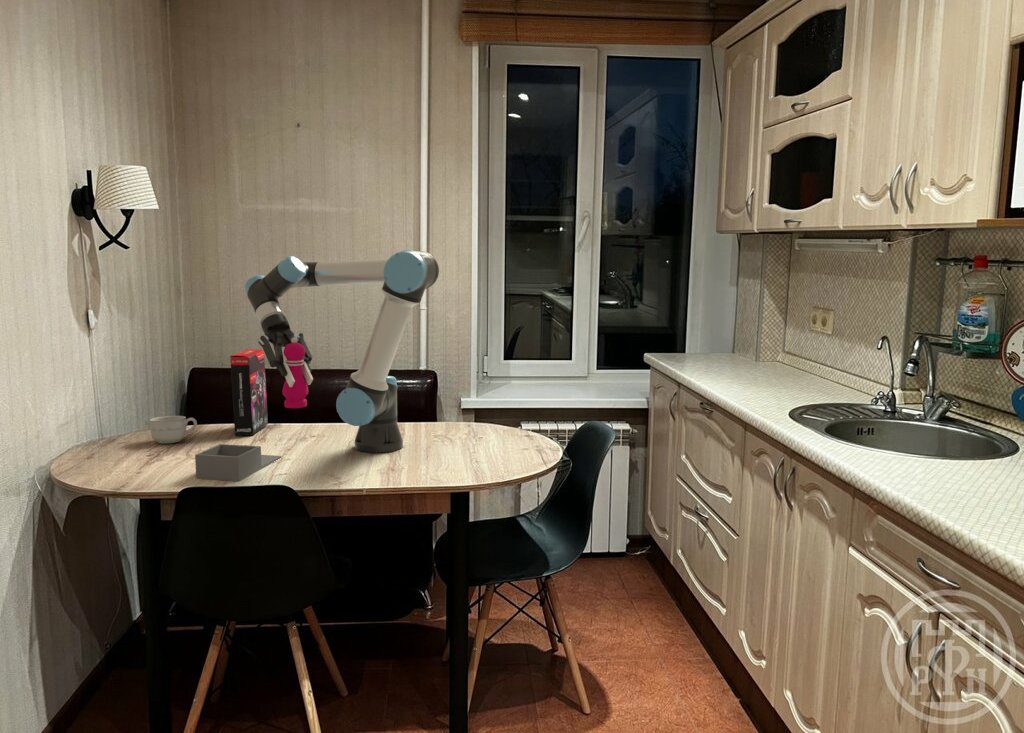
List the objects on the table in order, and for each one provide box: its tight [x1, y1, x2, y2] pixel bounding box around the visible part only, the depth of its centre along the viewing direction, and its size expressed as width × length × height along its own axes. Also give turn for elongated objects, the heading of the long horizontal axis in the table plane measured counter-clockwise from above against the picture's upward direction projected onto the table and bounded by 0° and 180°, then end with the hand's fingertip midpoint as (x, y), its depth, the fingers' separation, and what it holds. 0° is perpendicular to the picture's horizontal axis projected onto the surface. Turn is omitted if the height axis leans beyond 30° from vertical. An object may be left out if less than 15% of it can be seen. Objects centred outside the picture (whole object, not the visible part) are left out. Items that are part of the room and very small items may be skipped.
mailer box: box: [194, 443, 282, 482], centre depth 230 cm, size 13×25×7 cm, turn 170°
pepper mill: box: [282, 337, 309, 409], centre depth 232 cm, size 7×7×20 cm
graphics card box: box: [230, 348, 269, 437], centre depth 275 cm, size 17×7×27 cm, turn 0°
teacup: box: [149, 415, 198, 444], centre depth 260 cm, size 14×11×8 cm
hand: (301, 382), depth 230 cm, fingers closed on pepper mill, 5 cm apart
